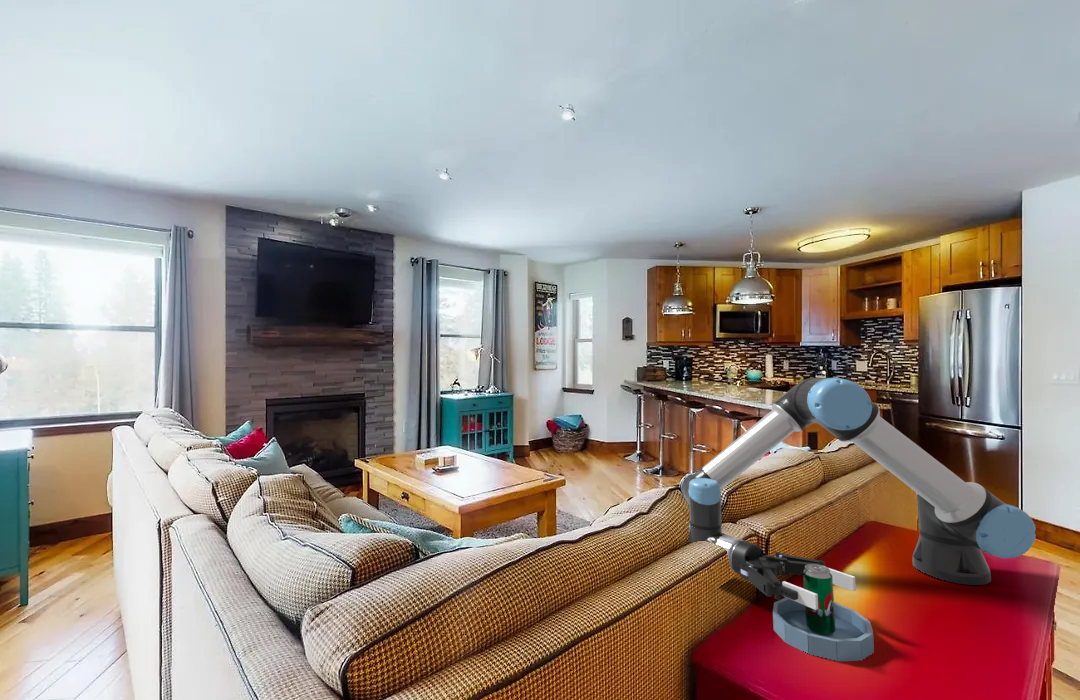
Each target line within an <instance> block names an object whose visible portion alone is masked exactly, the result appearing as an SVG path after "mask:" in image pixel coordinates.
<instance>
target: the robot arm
mask: <svg viewBox="0 0 1080 700" xmlns="http://www.w3.org/2000/svg"><path fill="white" fill-rule="evenodd" d="M813 424H818V425H820V426H821V427H822V428H823V429H824V430H826V431H827V432H828V433H830V434H831V435H833V436H834V437H835V438H836V439H837V440H839V441H840V442H842V443H849V442H852V443H853V444H854V445H855V446H857V447H858V448H859V449H861V451H863V452H865V454H867V455H868V456H869V457H870V458H872V459H873V460H874V461H876V462H877V463H879V465H880V466H882V467H883V468H884V469H886V470H887V471H888V472H890V473H891V474H892V475H893V476H895V477H896V478H897V479H898V480H900V481H901V482H902V483H904V484H905V485H906V486H908V487H909V489H911V490H912V491H914V492H915V493H916V496H917V497H916V498H917V513H918V514H917V515H918V528H919V529H918V530H919V533H918V534H919V536H918V540H917V543H916V546H915V549H914V551H913V553H912V560H911V561H912V566H914V567H915V568H916V569H915V568H914V567H913V568H914V569H915V570H917V569H918V570H920V571H921V572H920V571H919V572H920V573H922V572H923V573H922V574H924V573H926V574H928V575H931V576H933V577H932V578H934V577H935V578H934V579H937V578H939V579H938V580H940V579H941V581H944V580H945V581H944V582H950V583H954V584H960V585H961V584H962V585H971V586H983V585H988V584H989V583H991V581H992V576H991V569H990V567H989V564H988V563H987V561H986V560H987V559H986V558H985V555H984V553H985V554H988V555H992V556H994V557H997V558H1001V559H1015V558H1018V557H1021V556H1022V555H1024V554H1026V553H1027V552H1028V551H1029V550H1030V549H1031V548H1032V547H1033V545H1034V543H1035V540H1036V536H1037V535H1036V530H1037V528H1036V525H1035V523H1034V521H1033V519H1032V517H1031V516H1030V515H1029V514H1028V513H1027V512H1026V511H1025V510H1022V509H1020V508H1019V507H1018V506H1015V505H1011V504H1007V502H1006V503H1005V502H1004V501H1002V500H1001V499H999V498H998V497H997V496H995V494H993V493H992V492H990V491H989V490H988V489H987V488H986V487H984V486H982V485H981V484H979V483H977V482H973V481H966V482H965V480H963V479H962V478H961V477H960V476H958V475H957V474H956V473H954V472H953V471H952V470H950V469H949V468H948V467H946V466H945V465H944V464H943V463H941V462H940V461H939V460H937V459H936V458H934V456H932V455H931V454H930V453H928V452H927V451H925V450H924V449H923V448H922V447H921V446H920V445H918V444H917V443H916V442H914V441H913V440H911V439H910V438H909V437H907V435H905V434H903V433H902V432H901V431H900V430H899V429H897V428H896V427H894V426H893V425H892V424H890V423H889V422H888V421H886V420H885V419H884V418H883V417H881V412H880V407H879V406H878V405H877V404H875V402H873V401H872V400H871V397H870V395H869V394H868V392H867V391H866V390H865V388H863V387H862V386H861V385H859V384H858V383H856V382H853V381H852V380H849V379H846V378H845V379H844V378H840V377H811V378H806V379H804V380H802V381H800V382H799V383H796V384H795V385H794V386H793V387H792V388H791V389H789V390H788V391H787V392H786V393H784V394H783V395H782V396H781V397H780V398H779V399H777V400H776V401H775V402H773V404H772V406H771V411H769V412H768V413H766V414H765V415H764V416H763V417H762V418H761V419H759V420H758V421H757V422H756V423H755V424H753V425H752V426H751V427H750V428H748V429H747V430H746V431H745V432H743V433H742V434H741V435H740V436H739V437H737V439H735V440H734V441H733V442H732V443H730V444H728V445H727V447H725V448H724V449H723V450H722V451H721V452H718V454H716V455H715V456H714V457H713V458H712V459H711V460H709V461H708V462H707V463H706V464H705V465H704V466H702V467H701V468H699V469H698V470H697V471H695V473H689V474H687V475H685V476H684V477H683V478H682V481H681V484H680V489H681V493H682V495H683V498H684V499H685V501H686V502H687V504H688V507H689V524H690V525H689V542H691V543H693V542H697V541H707V542H711V543H714V544H716V545H719V546H721V547H723V548H724V549H725V550H726V551H727V555H728V559H729V564H730V567H731V569H732V572H733V573H736V574H737V575H739V576H740V577H741V578H742V579H745V580H746V581H748V582H749V583H750V584H751V585H753V586H754V587H755V588H757V590H759V591H760V592H761V593H762V594H764V595H765V596H766V597H768V598H772V597H773V595H774V599H775V600H776V601H779V600H781V599H782V597H784V598H789V599H791V600H793V601H796V602H798V603H800V604H803V605H805V606H808V607H810V608H812V609H815V610H817V609H818V594H816V593H813V592H811V591H808V590H806V589H804V587H801V586H797V585H795V584H792V583H790V582H787V581H786V580H784V581H782V582H781V581H780V580H779V578H778V577H777V576H786V577H787V576H789V575H796V576H797V575H798V576H803V571H804V569H805V565H807V564H818V565H822V566H825V567H826V562H825V561H823V560H819V559H812V558H808V557H801V556H795V555H790V554H785V553H781V552H777V551H776V552H775V553H774V555H772V554H765V552H764V550H763V549H762V547H761V546H759V545H758V544H757V543H753V542H751V541H747V540H743V539H741V538H739V537H736V536H732V535H730V534H727V533H723V532H722V531H723V530H722V529H723V528H722V494H721V491H722V490H723V489H724V488H725V487H727V485H729V484H731V482H733V481H734V480H735V479H737V478H738V477H740V476H741V475H742V474H743V473H744V472H746V471H747V470H748V469H749V468H750V467H752V466H753V465H754V464H755V463H756V462H758V461H759V460H761V458H763V457H764V456H765V455H766V454H768V453H769V452H770V451H771V450H773V449H774V448H775V447H776V446H778V445H779V444H780V443H781V442H783V441H784V440H785V439H787V438H788V437H789V436H790V435H792V434H793V432H795V433H797V432H799V433H800V432H802V431H803V430H804V429H806V428H807V427H809V426H811V425H813ZM692 474H693V475H692ZM686 476H687V477H686ZM685 477H686V478H685ZM684 478H685V479H684ZM692 526H693V527H692ZM694 527H695V528H694ZM716 542H717V543H716ZM983 552H984V553H983ZM828 568H829V570H830V573H831V574H832V578H833V585H835V586H838V587H840V588H844V589H847V590H849V591H852V592H855V591H856V577H855V576H854V575H851V574H848V573H845V572H842V571H838V570H836V569H834V568H830V567H828ZM918 570H917V571H918ZM926 574H925V575H926ZM928 575H927V576H928ZM931 576H930V577H931Z"/></svg>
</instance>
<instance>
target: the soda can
mask: <svg viewBox="0 0 1080 700" xmlns="http://www.w3.org/2000/svg"><path fill="white" fill-rule="evenodd" d="M829 568H830V567H827V566H826V565H825V566H822V565H818V564H807V565H805V569H804V571H803V575H802V577H803V589H806V590H808V591H811V592H813V593H816V594H818V609H817V610H815V609H812V608H810V607H808V606H805V613H806V625H807V626H808V628H809V629H810V630H811V631H813V632H815V633H817V634H821V635H831V634H833V633H834V632H835V630H836V628H835V611H834V602H835V598H834V584H833V578H832V574H831V573H830V570H829Z"/></svg>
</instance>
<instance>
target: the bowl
mask: <svg viewBox="0 0 1080 700" xmlns="http://www.w3.org/2000/svg"><path fill="white" fill-rule="evenodd" d="M834 611H835V628H836V630H835V632H834V633H833V634H831V635H821V634H817V633H815V632H813V631H811V630H810V629H809V628H808V626H807V625H806V613H805V605H803V604H800V603H798V602H796V601H793V600H791V599H789V598H786V597H784V598H781V600H776V601H775V602H773V609H772V624H773V631H774V632H775V633H776V634H777V636H779V638H781V640H782V641H783V643H786V644H787V645H788V646H791V647H793V648H795V649H797V650H799V651H801V652H803V651H804V652H803V653H805V652H806V653H805V654H807V653H808V654H807V655H809V654H810V655H809V656H813V655H814V656H813V657H817V656H819V657H818V658H821V657H823V659H825V658H827V659H826V660H830V659H831V660H830V661H834V660H835V661H834V662H860V661H864V660H865V659H866V657H867V656H868V657H870V656H871V655H873V654H874V653H875V644H874V642H875V641H874V632H873V631H874V630H873V628H872V624H871V621H870V620H869V619H867V618H866V617H864V615H862V614H860V613H859V612H857V611H856V610H855V609H853V608H850V607H848V606H845V605H842V604H839V603H837V602H835V601H834ZM872 653H873V654H872ZM869 655H870V656H869ZM868 657H867V658H868ZM863 659H864V660H863ZM859 660H860V661H859Z"/></svg>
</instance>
